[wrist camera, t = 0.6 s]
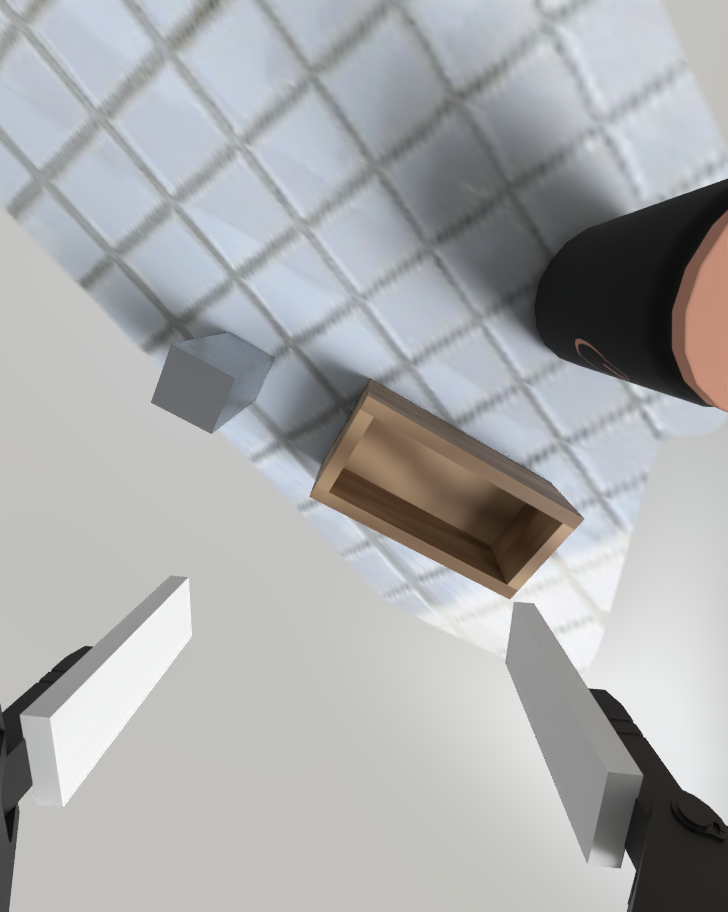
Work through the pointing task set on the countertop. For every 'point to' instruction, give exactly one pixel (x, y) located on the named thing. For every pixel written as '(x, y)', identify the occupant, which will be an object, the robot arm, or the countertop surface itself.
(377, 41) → the countertop surface
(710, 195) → the coffee jar
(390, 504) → the trough
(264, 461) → the countertop surface
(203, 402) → the steel bar
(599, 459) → the countertop surface
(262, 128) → the countertop surface
